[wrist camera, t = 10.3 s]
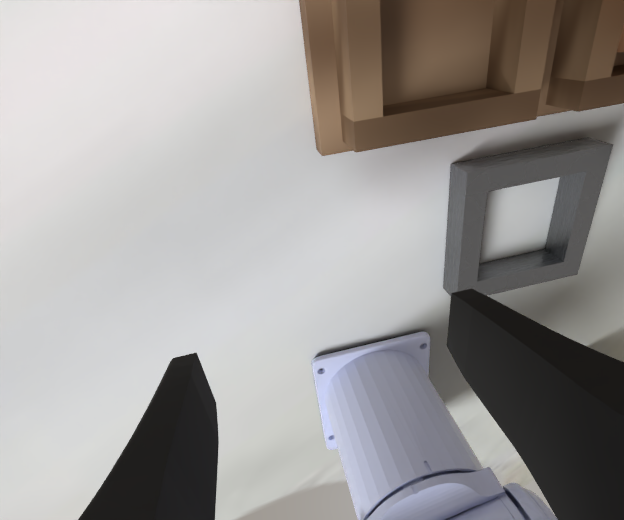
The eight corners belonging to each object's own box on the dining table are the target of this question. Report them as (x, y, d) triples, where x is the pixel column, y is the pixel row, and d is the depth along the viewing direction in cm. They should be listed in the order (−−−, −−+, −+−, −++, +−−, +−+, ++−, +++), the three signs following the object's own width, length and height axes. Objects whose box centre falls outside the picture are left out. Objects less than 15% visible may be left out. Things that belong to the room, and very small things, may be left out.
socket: (558, 261, 25) (577, 274, 24) (443, 287, 25) (456, 302, 23) (588, 137, 21) (613, 144, 20) (451, 164, 20) (467, 173, 19)
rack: (681, 83, 21) (750, 90, 18) (316, 149, 19) (333, 169, 16) (761, -153, 16) (870, -191, 13) (287, -101, 14) (303, -134, 11)
